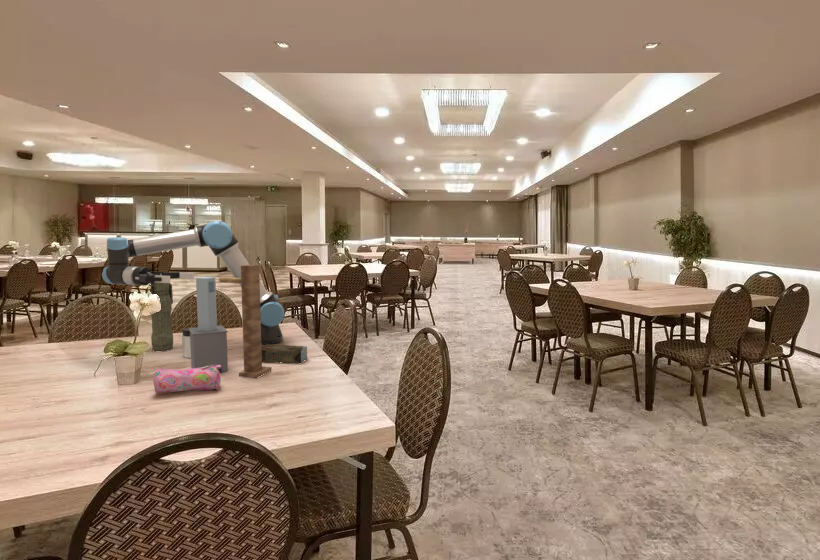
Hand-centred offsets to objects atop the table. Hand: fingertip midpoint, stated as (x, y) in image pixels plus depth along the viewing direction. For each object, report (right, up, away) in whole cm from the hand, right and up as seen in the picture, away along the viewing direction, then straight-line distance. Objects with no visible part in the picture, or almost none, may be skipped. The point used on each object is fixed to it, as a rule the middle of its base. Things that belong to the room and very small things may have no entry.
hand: (182, 277), depth 200 cm
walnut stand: (+26, -37, -5) cm, 46 cm away
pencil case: (+15, -40, -27) cm, 50 cm away
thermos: (-23, -33, +31) cm, 50 cm away
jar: (-4, -34, +19) cm, 40 cm away
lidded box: (+11, -36, -1) cm, 38 cm away
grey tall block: (+11, -20, -2) cm, 23 cm away
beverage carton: (+37, -36, +12) cm, 53 cm away
